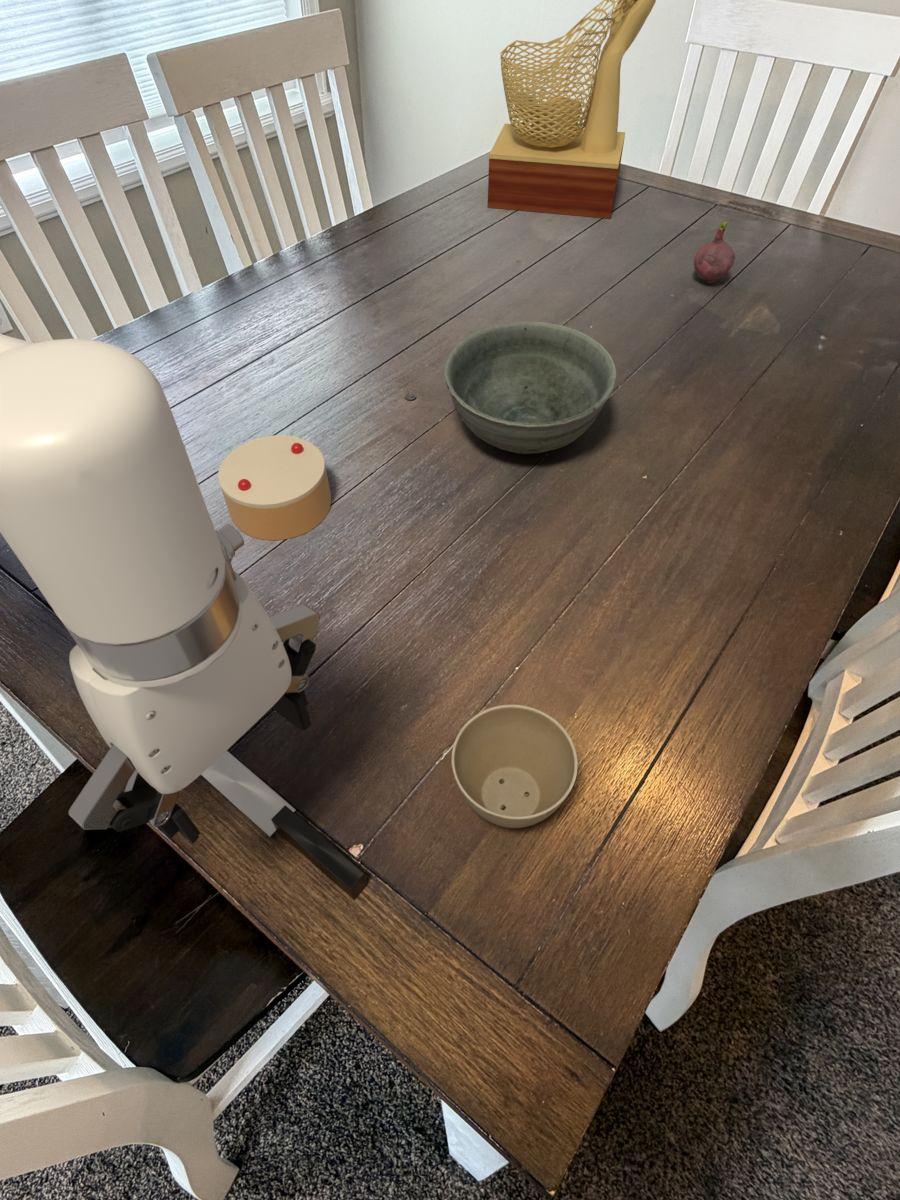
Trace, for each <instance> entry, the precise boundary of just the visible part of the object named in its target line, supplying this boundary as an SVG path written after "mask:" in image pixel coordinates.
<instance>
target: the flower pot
mask: <svg viewBox="0 0 900 1200" xmlns="http://www.w3.org/2000/svg"><path fill="white" fill-rule="evenodd" d="M578 767H579V761H578V753H577V749H576V746H575V743H574V742H573V739H572V738H571V736H570V734H569V733H568V731H567V730H566V729H565V727H564V726H563V725H562V724H561V723H560V722H559V721H557V720H556V718H554V717H552V716H551V715H550V714H548V713H546V712H544V711H542V710H540V709H537V708H535V707H531V706H527V705H522V704H501V705H496V706H492V707H488V708H486V709H484V710H482V711H480V712H479V713H477V714H475V715H474V716H472V717H471V718H469V719H468V721H466V722H465V724H464V725H463V726H462V727H461V729H460V730H459V732H458V733H457V734H456V737H455V739H454V742H453V745H452V750H451V770H452V774H453V776H454V781H455V782H456V785H457V787H458V790H459V792H460V794H461V796H462V797H463V799H464V800H465V801H466V803H467V804H468V806H469V807H470V808H471V809H473V811H474V812H475V813H476V814H478V816H480V818H482V819H484V820H485V821H487V822H489V823H490V824H492V825H496V826H499V827H502V828H506V829H507V828H508V829H522V828H527V827H531V826H534V825H536V824H538V823H540V822H542V821H544V820H545V819H547V818H549V817H550V816H551V815H552V814H553V813H555V812H556V811H557V810H558V809H559V808H560V807H561V806H562V804H563V803H565V801H566V799H567V798H568V796H569V795H570V793H571V791H572V790H573V787H574V785H575V784H576V780H577V775H578V769H579V768H578Z"/></svg>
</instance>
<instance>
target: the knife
mask: <svg viewBox="0 0 900 1200" xmlns="http://www.w3.org/2000/svg"><path fill="white" fill-rule="evenodd" d="M200 776H201V777H202V778H203V779H205V781H207V782H208V783H209V784H210V785H211V786H212V787H213V788H214V789H215V790H216V791H217V792H219V793H220V794H221V796H223V797H224V798H225V799H226V800H228V801H229V802H230V803H231V804H232V805H233V806H234V807H236V808H237V810H239V811H240V812H241V813H242V814H243V815H244V816H245V817H247V818H248V819H249V820H250V821H251V822H252V823H253V824H254V825H255V826H256V827H257V828H259V829H260V830H261V831H262V832H263V833H265V834H266V835H267V836H268V837H269V839H271V838H272V837H273V836H274V835H275V834H276V833H278V834H279V835H280V836H281V837H282V838H283V839H285V841H287V842H288V843H289V844H290V845H291V846H292V847H293V848H295V849H296V850H297V851H298V852H299V853H300V854H301V855H302V856H304V857H305V859H307V860H308V861H309V862H310V863H311V864H312V865H314V867H316V868H317V869H318V870H319V871H320V872H321V873H323V874H324V875H325V876H326V877H327V878H329V880H331V881H332V882H333V883H334V884H335V885H336V886H337V887H338V888H339V889H341V890H342V891H343V892H344V893H345V894H346V895H347V896H348V897H349V898H351V899H352V900H353V901H354V900H356V899H357V898H358V896H359V895H360V894H361V893H362V892H363V891H364V889H365V888H366V887H367V886H368V881H367V878H366V875H365V873H364V871H363V870H362V869H360V868H359V867H357V866H356V865H355V864H354V863H353V862H352V861H351V860H349V859H348V858H347V857H346V856H345V855H344V854H342V853H341V852H340V851H339V850H338V849H337V848H336V847H335V846H333V844H331V843H330V842H329V841H327V840H326V839H325V837H323V836H322V835H321V834H319V833H318V832H317V831H316V830H315V829H314V828H312V827H311V826H310V825H309V824H308V823H307V822H305V821H304V820H303V819H302V818H301V817H299V815H298V814H296V813H297V809H296V808H295V807H293V806H292V805H291V804H290V803H289V802H288V801H286V800H285V799H284V798H283V797H282V796H281V795H279V794H278V793H277V792H276V791H275V790H273V789H272V787H270V786H269V785H268V784H267V783H265V782H264V781H263V780H262V779H261V778H259V776H257V775H256V774H255V773H254V772H253V771H251V770H250V769H249V768H248V767H247V766H246V765H244V763H242V761H240V760H239V759H238V758H236V757H235V756H234V755H233V754H232V753H230V751H228V750H227V751H226V752H224V753H223V754H222V755H221V756H220V757H219V758H218V759H217V760H216V761H215V762H214V763H213V764H212V765H211V766H209V767H208V768H207V769H206V770H205V771H204V772H203V773H202V774H201V775H200Z"/></svg>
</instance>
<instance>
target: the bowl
mask: <svg viewBox="0 0 900 1200" xmlns="http://www.w3.org/2000/svg"><path fill="white" fill-rule="evenodd" d="M443 364H444V365H443V378H444V381H445V385H446V387H447V389H448V392H449V394H450V398H451V400H452V402H453V405H454V407H455V409H456V412H457V413H458V416H459V417H460V418H461V420H462V422H463V423H464V425H465V426H466V427H467V428H468V429H469V430H470V432H472V433H473V435H475V436H476V437H477V438H479V439H481V440H482V441H484V442H485V443H486V444H488V445H490V446H493V447H495V448H497V449H500V450H502V451H506V452H510V453H513V454H516V455H535V454H542V453H544V452H545V453H547V452H551V451H554V450H557V449H561V448H563V447H566V446H568V445H569V444H571V443H572V442H574V441H576V440H577V439H578V438H580V437H581V436H582V435H583V434H585V432H587V430H588V429H589V428H590V427H591V426H592V424H593V423H594V422H595V421H596V420H597V418H598V416H599V415H600V413H601V411H602V410H603V408H604V406H605V404H606V402H608V400H609V399H610V397H611V396H612V393H613V392H614V391H615V387H616V382H617V371H616V364H615V362H614V359H613V357H612V355H611V354H610V353H609V352H608V350H607V349H605V347H604V346H603V345H602V344H600V343H599V342H598V341H596V340H595V339H594V338H592V337H591V336H589V335H587V334H586V333H584V332H581V331H579V330H577V329H575V328H574V329H573V327H572V328H571V327H568V326H565V325H562V324H556V323H551V322H546V321H532V320H531V321H513V322H505V323H501V324H495V325H492V326H488V327H484V328H482V329H480V330H477V331H475V332H473V333H471V334H469V335H468V336H466V337H464V339H462V340H461V341H459V342H458V343H457V344H456V345H455V347H454V348H453V349H452V350H451V352H450V353H449V354H448V355H447V358H446V360H445V363H443Z"/></svg>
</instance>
